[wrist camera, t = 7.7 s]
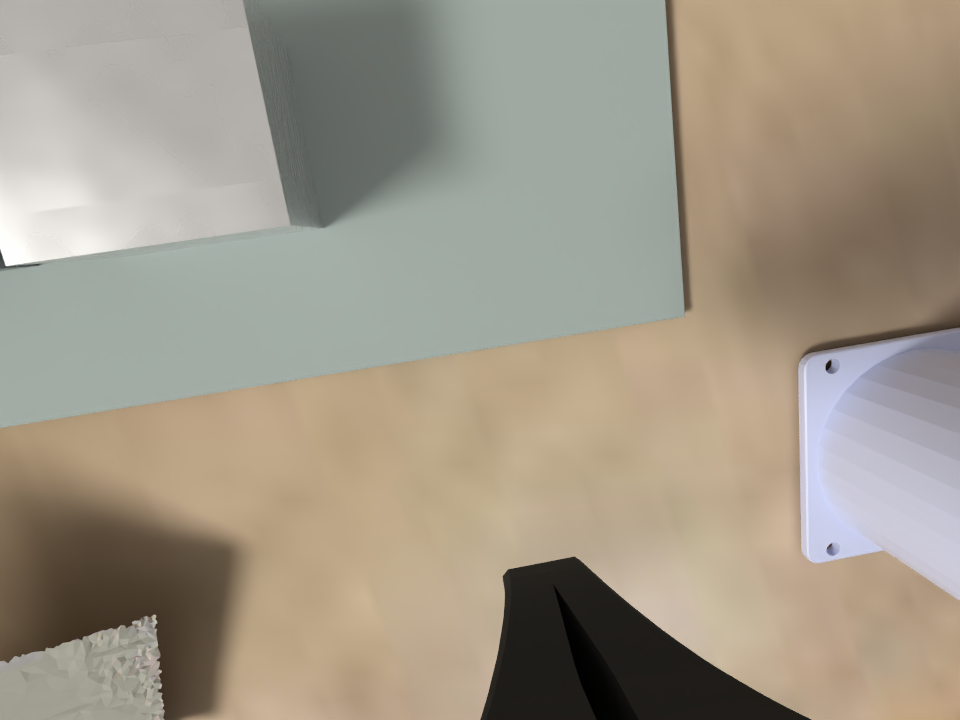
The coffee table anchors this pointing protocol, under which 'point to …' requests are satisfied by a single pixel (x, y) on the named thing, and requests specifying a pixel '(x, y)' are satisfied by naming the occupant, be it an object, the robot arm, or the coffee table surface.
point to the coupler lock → (146, 129)
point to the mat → (395, 213)
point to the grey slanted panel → (87, 678)
